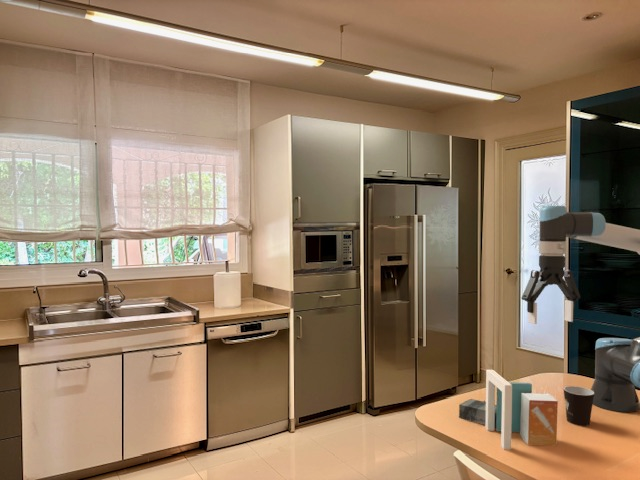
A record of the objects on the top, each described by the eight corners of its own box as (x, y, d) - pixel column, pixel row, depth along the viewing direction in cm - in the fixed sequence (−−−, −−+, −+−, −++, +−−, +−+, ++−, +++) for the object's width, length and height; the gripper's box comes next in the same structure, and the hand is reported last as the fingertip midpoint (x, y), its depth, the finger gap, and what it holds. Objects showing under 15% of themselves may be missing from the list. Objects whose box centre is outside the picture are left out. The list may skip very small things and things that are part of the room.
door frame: (491, 427, 148) (492, 369, 148) (511, 449, 134) (512, 385, 133) (485, 427, 148) (486, 369, 148) (503, 449, 134) (504, 385, 133)
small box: (527, 445, 136) (528, 399, 136) (519, 435, 143) (520, 392, 142) (557, 446, 136) (558, 400, 136) (547, 436, 142) (548, 392, 142)
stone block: (471, 411, 162) (471, 395, 162) (514, 423, 152) (514, 407, 152) (458, 418, 156) (458, 402, 156) (502, 431, 146) (502, 414, 146)
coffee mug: (592, 429, 147) (593, 397, 147) (561, 423, 152) (562, 391, 152) (594, 417, 157) (595, 386, 157) (565, 411, 162) (565, 381, 161)
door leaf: (496, 429, 146) (496, 381, 145) (529, 430, 145) (530, 382, 145) (498, 432, 143) (499, 384, 143) (532, 434, 143) (533, 385, 142)
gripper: (526, 256, 145) (525, 326, 146) (594, 255, 152) (592, 322, 152) (510, 254, 152) (509, 321, 153) (575, 253, 159) (574, 318, 159)
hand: (550, 322), depth 153 cm, fingers open, 13 cm apart
